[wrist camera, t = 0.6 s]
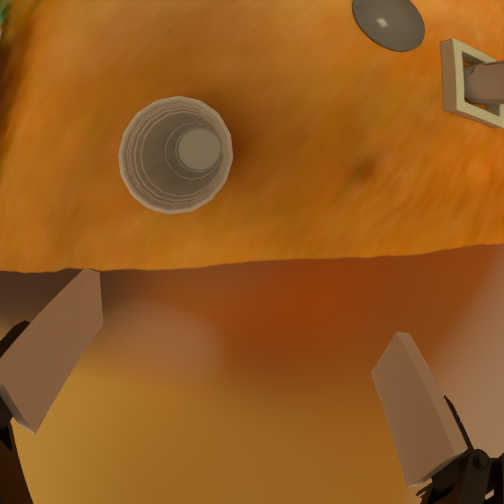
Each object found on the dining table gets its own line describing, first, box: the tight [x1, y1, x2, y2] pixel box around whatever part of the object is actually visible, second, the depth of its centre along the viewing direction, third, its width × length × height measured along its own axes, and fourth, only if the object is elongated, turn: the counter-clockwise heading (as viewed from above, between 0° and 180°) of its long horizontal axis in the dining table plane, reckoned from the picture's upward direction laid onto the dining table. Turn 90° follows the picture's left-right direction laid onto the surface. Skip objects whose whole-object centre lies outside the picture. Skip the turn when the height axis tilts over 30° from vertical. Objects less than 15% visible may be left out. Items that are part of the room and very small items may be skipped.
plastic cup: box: [118, 96, 233, 214], centre depth 29 cm, size 11×11×12 cm
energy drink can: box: [463, 60, 504, 104], centre depth 21 cm, size 6×6×15 cm
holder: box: [440, 38, 504, 129], centre depth 26 cm, size 11×11×4 cm
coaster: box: [352, 0, 425, 52], centre depth 25 cm, size 11×11×1 cm
